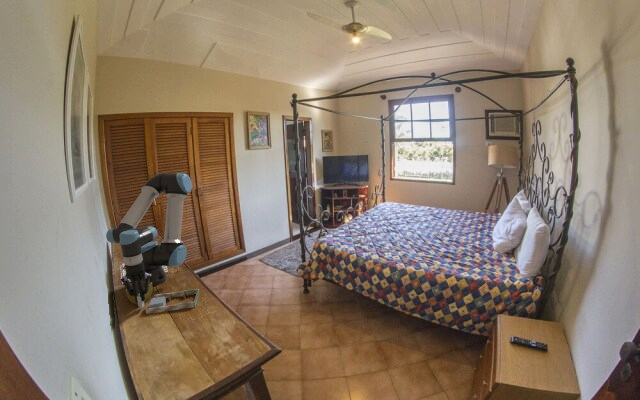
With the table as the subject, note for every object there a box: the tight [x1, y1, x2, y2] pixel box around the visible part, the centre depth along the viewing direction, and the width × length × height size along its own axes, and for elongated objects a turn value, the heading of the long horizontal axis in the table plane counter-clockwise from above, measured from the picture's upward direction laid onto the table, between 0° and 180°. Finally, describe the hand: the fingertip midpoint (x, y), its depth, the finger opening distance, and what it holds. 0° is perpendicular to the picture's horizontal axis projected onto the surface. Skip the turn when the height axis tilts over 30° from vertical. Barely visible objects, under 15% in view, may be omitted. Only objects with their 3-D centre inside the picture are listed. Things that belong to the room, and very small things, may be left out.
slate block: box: [148, 296, 167, 308], centre depth 142 cm, size 6×6×4 cm
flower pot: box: [124, 282, 153, 305], centre depth 146 cm, size 9×9×9 cm
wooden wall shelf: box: [145, 288, 201, 315], centre depth 145 cm, size 22×13×3 cm, turn 103°
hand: (141, 306), depth 140 cm, fingers closed
